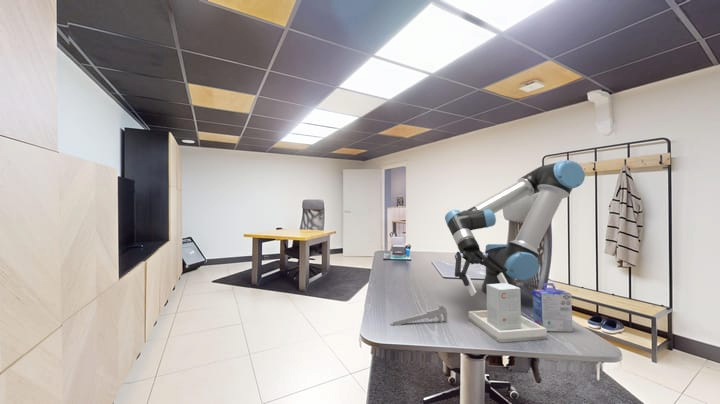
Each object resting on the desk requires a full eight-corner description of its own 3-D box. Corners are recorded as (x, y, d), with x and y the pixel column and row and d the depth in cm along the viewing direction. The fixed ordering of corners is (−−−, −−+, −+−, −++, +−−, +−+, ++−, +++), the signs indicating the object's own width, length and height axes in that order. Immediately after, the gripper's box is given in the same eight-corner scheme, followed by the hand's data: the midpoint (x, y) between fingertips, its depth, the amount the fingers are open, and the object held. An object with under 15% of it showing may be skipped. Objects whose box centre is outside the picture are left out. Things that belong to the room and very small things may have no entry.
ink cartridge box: (560, 324, 88) (560, 282, 89) (574, 332, 83) (573, 287, 83) (531, 324, 89) (531, 281, 89) (542, 331, 83) (542, 286, 83)
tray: (508, 317, 94) (508, 308, 94) (546, 338, 78) (546, 328, 79) (468, 319, 92) (468, 311, 92) (499, 342, 76) (499, 332, 76)
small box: (506, 320, 89) (506, 282, 90) (521, 328, 83) (521, 288, 83) (486, 322, 88) (485, 283, 88) (500, 331, 81) (499, 289, 82)
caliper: (445, 321, 91) (445, 303, 91) (447, 322, 90) (447, 304, 90) (389, 325, 88) (389, 306, 88) (390, 326, 87) (390, 307, 87)
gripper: (489, 246, 109) (517, 294, 94) (434, 249, 104) (454, 300, 90) (498, 235, 103) (528, 285, 89) (440, 238, 99) (462, 290, 85)
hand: (491, 292), depth 89 cm, fingers open, 13 cm apart
